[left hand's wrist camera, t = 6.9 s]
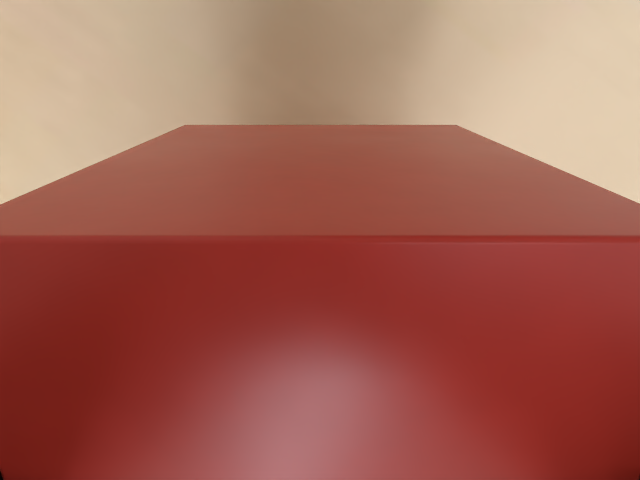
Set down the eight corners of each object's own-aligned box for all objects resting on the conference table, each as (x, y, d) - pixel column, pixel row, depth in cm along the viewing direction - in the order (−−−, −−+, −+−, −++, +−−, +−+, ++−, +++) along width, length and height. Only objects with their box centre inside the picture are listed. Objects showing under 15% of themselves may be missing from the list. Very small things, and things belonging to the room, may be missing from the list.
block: (208, 360, 18) (77, 705, 8) (183, 124, 15) (-84, 237, 5) (432, 360, 18) (564, 705, 8) (457, 124, 15) (726, 237, 5)
